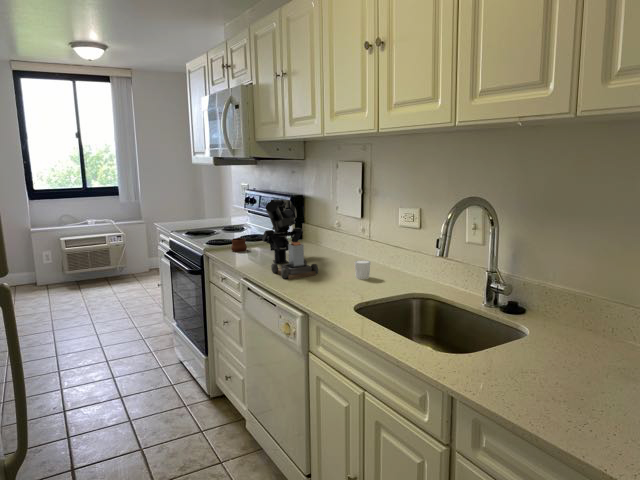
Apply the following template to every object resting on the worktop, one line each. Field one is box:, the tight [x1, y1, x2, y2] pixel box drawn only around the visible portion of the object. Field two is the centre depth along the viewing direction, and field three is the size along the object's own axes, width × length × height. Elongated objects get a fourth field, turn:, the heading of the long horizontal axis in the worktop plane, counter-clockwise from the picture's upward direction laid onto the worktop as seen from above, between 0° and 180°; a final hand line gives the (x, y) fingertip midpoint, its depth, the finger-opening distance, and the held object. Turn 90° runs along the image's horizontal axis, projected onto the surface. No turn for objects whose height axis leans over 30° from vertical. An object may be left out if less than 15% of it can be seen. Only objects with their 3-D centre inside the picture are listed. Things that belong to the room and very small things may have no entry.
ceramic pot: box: [230, 237, 248, 253], centre depth 262 cm, size 18×18×7 cm
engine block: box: [288, 240, 305, 268], centre depth 207 cm, size 5×5×13 cm
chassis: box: [270, 258, 319, 280], centre depth 210 cm, size 16×16×4 cm
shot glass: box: [354, 259, 371, 280], centre depth 201 cm, size 7×7×7 cm
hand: (288, 249), depth 214 cm, fingers open, 9 cm apart
